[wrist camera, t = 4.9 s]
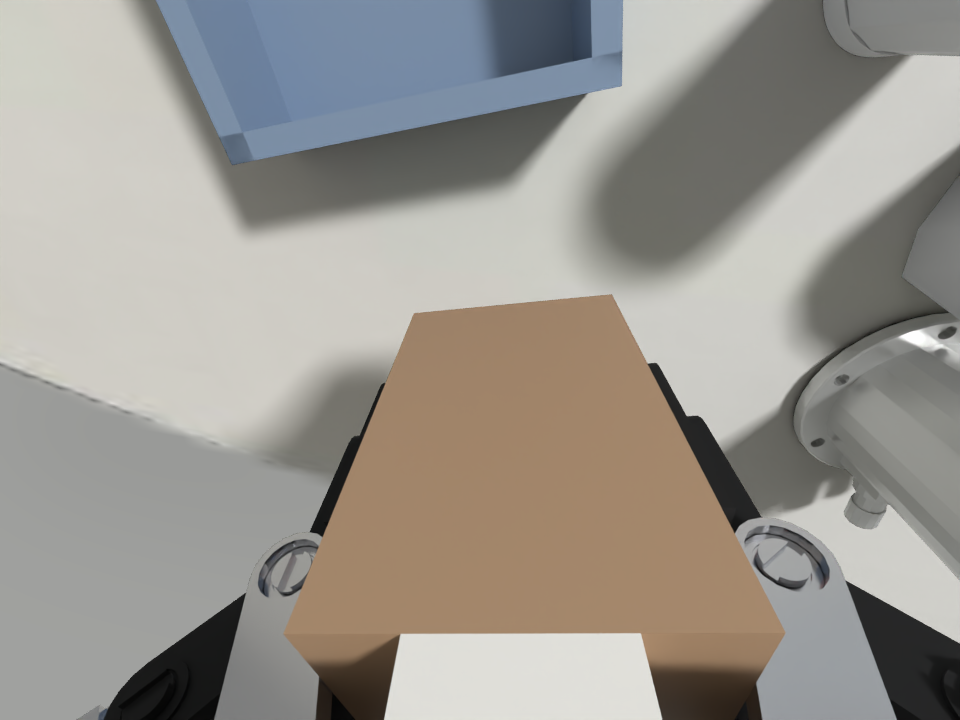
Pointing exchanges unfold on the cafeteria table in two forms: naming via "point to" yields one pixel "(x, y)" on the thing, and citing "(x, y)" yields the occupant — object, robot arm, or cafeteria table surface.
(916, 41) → the cup
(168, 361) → the cafeteria table surface
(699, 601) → the brown and white block
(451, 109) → the tub
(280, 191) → the cafeteria table surface
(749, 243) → the cafeteria table surface
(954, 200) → the toilet tissue
